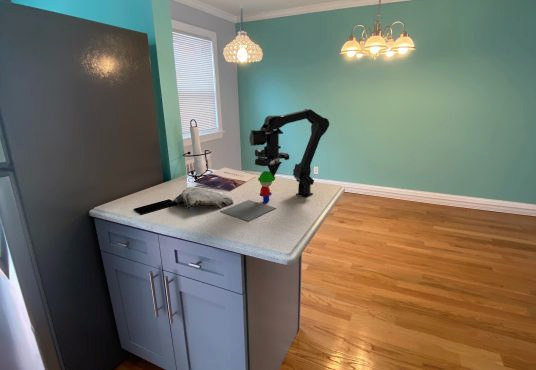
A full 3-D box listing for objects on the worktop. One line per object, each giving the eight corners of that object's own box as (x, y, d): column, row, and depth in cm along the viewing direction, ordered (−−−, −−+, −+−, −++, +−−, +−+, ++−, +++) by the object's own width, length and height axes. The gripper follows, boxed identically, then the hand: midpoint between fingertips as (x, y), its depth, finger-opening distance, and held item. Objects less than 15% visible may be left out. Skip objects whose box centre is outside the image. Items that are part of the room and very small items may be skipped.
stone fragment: (204, 191, 163) (204, 179, 161) (241, 202, 144) (240, 189, 142) (161, 202, 144) (160, 189, 143) (196, 217, 126) (195, 202, 124)
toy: (274, 205, 138) (273, 174, 133) (258, 204, 140) (255, 174, 135) (277, 198, 145) (276, 168, 140) (261, 198, 147) (259, 168, 142)
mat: (248, 200, 145) (248, 199, 144) (276, 208, 134) (276, 207, 134) (220, 211, 131) (220, 211, 131) (248, 221, 121) (248, 220, 121)
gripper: (272, 139, 149) (272, 170, 154) (245, 145, 136) (246, 178, 140) (290, 142, 142) (289, 173, 147) (264, 147, 129) (264, 182, 133)
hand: (272, 176), depth 142 cm, fingers closed
